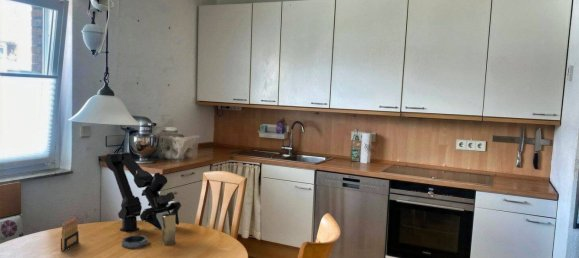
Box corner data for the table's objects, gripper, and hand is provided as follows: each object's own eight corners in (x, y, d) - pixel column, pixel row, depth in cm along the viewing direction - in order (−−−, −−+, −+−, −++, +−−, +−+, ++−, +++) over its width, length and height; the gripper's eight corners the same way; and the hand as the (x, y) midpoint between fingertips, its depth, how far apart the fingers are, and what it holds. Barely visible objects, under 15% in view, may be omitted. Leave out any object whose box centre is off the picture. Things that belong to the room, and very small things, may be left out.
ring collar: (116, 245, 184) (116, 240, 184) (136, 238, 194) (136, 233, 194) (133, 250, 179) (133, 245, 179) (153, 243, 188) (153, 238, 188)
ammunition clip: (64, 251, 176) (64, 222, 175) (60, 250, 176) (60, 222, 175) (78, 242, 187) (78, 215, 186) (74, 242, 187) (74, 215, 186)
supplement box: (166, 230, 206) (166, 204, 205) (153, 228, 208) (153, 202, 207) (175, 226, 213) (175, 201, 212) (163, 224, 215) (163, 199, 214)
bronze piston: (159, 243, 188) (159, 215, 187) (168, 240, 192) (169, 212, 191) (168, 246, 185) (168, 217, 184) (177, 242, 190) (178, 214, 189)
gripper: (143, 190, 182) (160, 221, 176) (178, 184, 197) (195, 211, 192) (132, 205, 187) (148, 235, 182) (167, 198, 202) (183, 225, 197)
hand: (169, 226), depth 188 cm, fingers open, 9 cm apart
